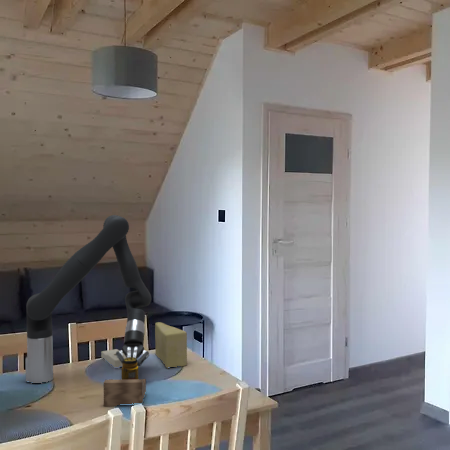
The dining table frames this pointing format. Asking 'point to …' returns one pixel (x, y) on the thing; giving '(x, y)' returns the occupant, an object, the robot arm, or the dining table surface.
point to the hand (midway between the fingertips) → (130, 375)
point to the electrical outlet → (112, 357)
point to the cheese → (171, 345)
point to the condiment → (129, 369)
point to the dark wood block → (124, 391)
